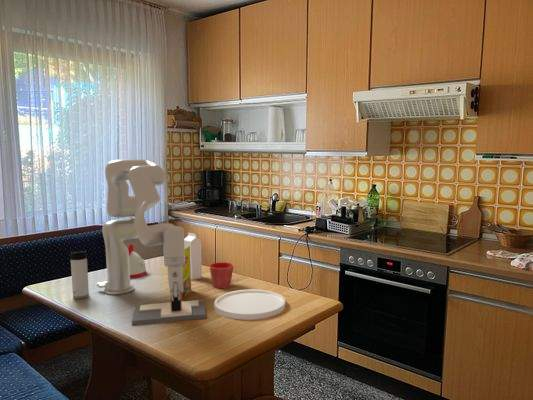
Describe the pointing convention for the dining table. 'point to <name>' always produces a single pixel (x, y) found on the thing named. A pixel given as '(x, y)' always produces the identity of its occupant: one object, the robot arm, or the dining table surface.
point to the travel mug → (79, 275)
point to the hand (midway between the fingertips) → (176, 308)
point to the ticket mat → (153, 315)
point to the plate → (249, 304)
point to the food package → (186, 274)
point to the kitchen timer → (136, 264)
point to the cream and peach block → (183, 312)
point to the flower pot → (221, 274)
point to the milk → (194, 255)
